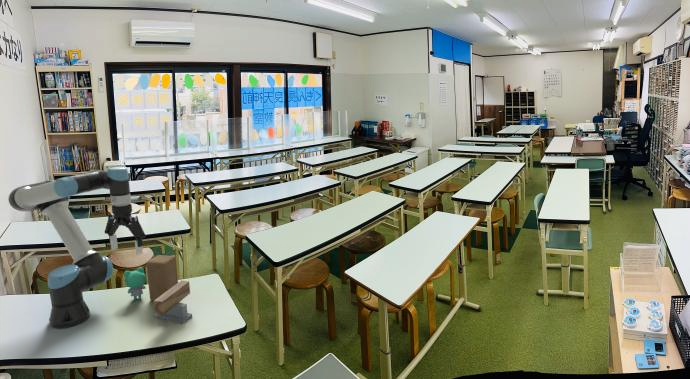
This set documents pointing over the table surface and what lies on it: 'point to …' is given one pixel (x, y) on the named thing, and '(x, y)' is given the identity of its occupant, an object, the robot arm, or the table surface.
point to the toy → (135, 282)
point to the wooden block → (161, 275)
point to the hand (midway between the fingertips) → (126, 251)
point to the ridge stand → (177, 314)
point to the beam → (171, 297)
